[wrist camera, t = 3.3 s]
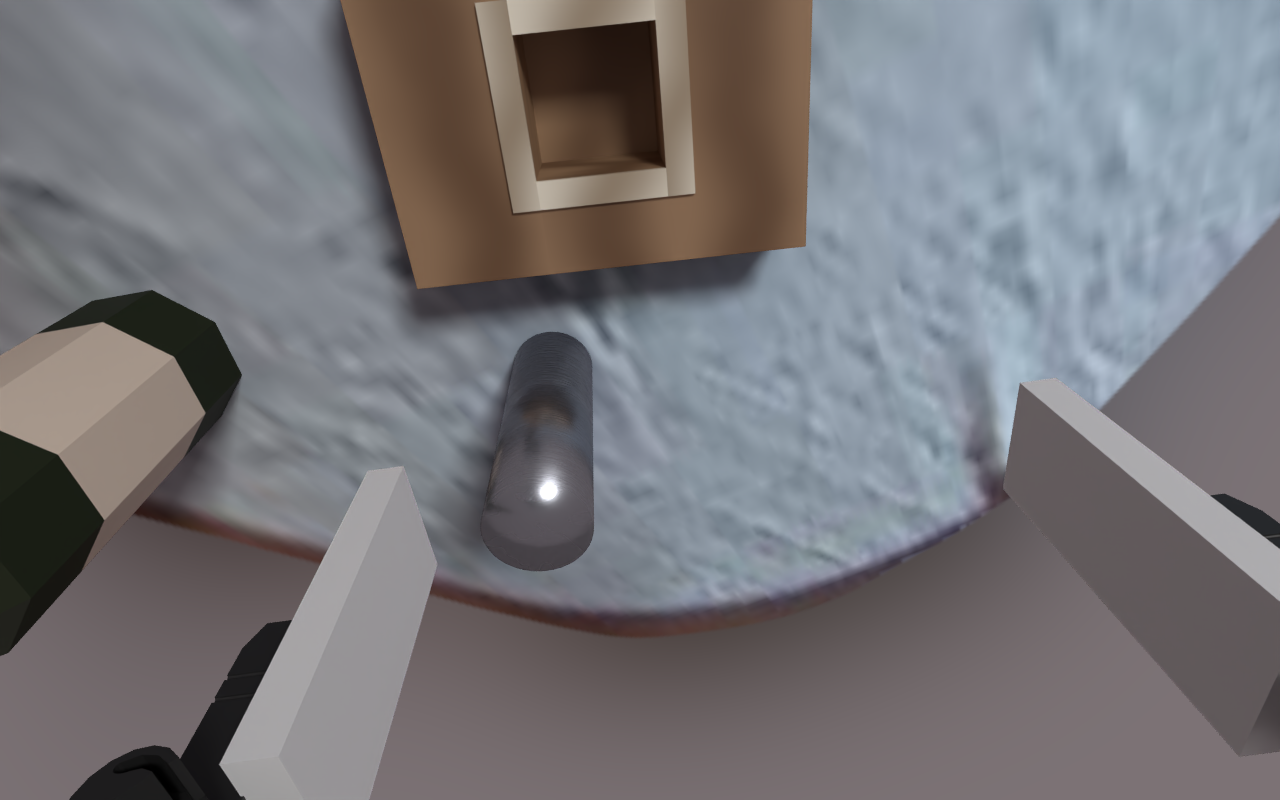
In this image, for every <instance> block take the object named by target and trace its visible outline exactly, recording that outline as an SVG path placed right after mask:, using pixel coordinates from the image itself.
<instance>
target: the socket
mask: <svg viewBox="0 0 1280 800" xmlns="http://www.w3.org/2000/svg"><path fill="white" fill-rule="evenodd" d="M340 1H341V4H342V8H343V12H344V16H345V19H346V23H347V27H348V31H349V34H350V38H351V42H352V46H353V49H354V53H355V57H356V61H357V64H358V68H359V72H360V76H361V79H362V83H363V87H364V91H365V94H366V98H367V102H368V106H369V109H370V113H371V117H372V121H373V124H374V128H375V132H376V136H377V139H378V143H379V147H380V151H381V154H382V158H383V162H384V166H385V169H386V173H387V177H388V181H389V184H390V188H391V192H392V196H393V199H394V203H395V207H396V211H397V214H398V218H399V222H400V226H401V229H402V233H403V237H404V241H405V244H406V248H407V252H408V256H409V259H410V263H411V267H412V271H413V274H414V278H415V282H416V286H417V289H422V288H431V287H441V286H450V285H459V284H468V283H477V282H486V281H495V280H504V279H513V278H522V277H531V276H541V275H550V274H559V273H568V272H577V271H586V270H595V269H604V268H613V267H622V266H631V265H641V264H650V263H659V262H668V261H677V260H686V259H695V258H704V257H713V256H722V255H731V254H740V253H750V252H759V251H768V250H777V249H786V248H795V247H804V246H806V213H807V177H808V141H809V105H810V69H811V32H812V0H340Z"/></svg>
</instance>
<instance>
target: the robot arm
mask: <svg viewBox="0 0 1280 800" xmlns="http://www.w3.org/2000/svg"><path fill="white" fill-rule="evenodd" d="M1003 489H1004V490H1005V492H1006V493H1007V494H1008V495H1009V496H1010V497H1011V498H1012V499H1013V501H1014V502H1015V503H1016V504H1017V505H1018V506H1019V508H1020V509H1021V510H1022V511H1023V512H1024V513H1025V514H1026V515H1027V516H1028V518H1029V519H1030V520H1031V521H1032V522H1033V523H1034V525H1035V526H1036V527H1037V528H1038V529H1039V530H1040V531H1041V532H1042V534H1043V535H1044V536H1045V537H1046V538H1047V539H1048V540H1049V542H1050V543H1051V544H1052V545H1053V546H1054V547H1055V548H1056V549H1057V551H1058V552H1059V553H1060V554H1061V555H1062V556H1063V557H1064V559H1066V561H1067V562H1068V563H1069V564H1070V565H1071V567H1072V568H1073V569H1074V570H1075V571H1076V572H1077V573H1078V574H1079V575H1080V577H1081V578H1082V579H1083V580H1084V581H1085V582H1086V584H1087V585H1088V586H1089V587H1090V588H1091V589H1092V590H1093V591H1094V593H1095V594H1096V595H1097V596H1098V597H1099V598H1100V599H1101V601H1102V602H1103V603H1104V604H1105V605H1106V606H1107V607H1108V609H1109V610H1110V611H1111V612H1112V613H1113V614H1114V615H1115V616H1116V617H1117V619H1118V620H1119V621H1120V622H1121V623H1122V624H1123V626H1124V627H1125V628H1126V629H1127V630H1128V631H1129V632H1130V633H1131V635H1132V636H1133V637H1134V638H1135V639H1136V640H1137V641H1138V643H1139V644H1140V645H1141V646H1142V647H1143V648H1144V649H1145V650H1146V652H1147V653H1148V654H1149V655H1150V656H1151V657H1152V658H1153V660H1154V661H1155V662H1156V663H1157V664H1158V665H1159V666H1160V667H1161V669H1162V670H1163V671H1164V672H1165V673H1166V674H1167V675H1168V677H1169V678H1170V679H1171V680H1172V681H1173V682H1174V683H1175V685H1176V686H1177V687H1178V688H1179V689H1180V690H1181V691H1182V692H1183V694H1184V695H1185V696H1186V697H1187V698H1188V699H1189V700H1190V702H1191V703H1192V704H1193V705H1194V706H1195V707H1196V708H1197V710H1198V711H1199V712H1200V713H1201V714H1202V715H1203V716H1204V717H1205V719H1206V720H1207V721H1208V722H1209V723H1210V724H1211V725H1212V726H1213V728H1214V729H1215V730H1216V731H1217V732H1218V733H1219V735H1220V736H1221V737H1222V738H1223V739H1224V740H1225V741H1226V742H1227V744H1228V745H1229V746H1230V747H1231V748H1232V749H1233V750H1234V751H1235V753H1236V754H1237V755H1238V756H1239V757H1241V756H1248V755H1256V754H1264V753H1272V752H1279V751H1280V524H1279V523H1278V522H1277V521H1275V520H1274V519H1273V518H1271V517H1270V516H1269V515H1267V514H1266V513H1264V512H1263V511H1261V510H1259V509H1257V508H1255V507H1253V506H1251V505H1248V504H1246V503H1244V502H1242V501H1240V500H1237V499H1235V498H1233V497H1231V496H1229V495H1226V494H1218V495H1211V496H1210V495H1208V494H1207V493H1206V492H1204V491H1203V490H1202V489H1201V488H1199V487H1198V486H1197V485H1195V484H1194V483H1193V482H1191V481H1190V480H1189V479H1187V478H1186V477H1185V476H1184V475H1182V474H1181V473H1180V472H1178V471H1177V470H1176V469H1174V468H1173V467H1172V466H1171V465H1169V464H1168V463H1166V462H1165V461H1164V460H1163V459H1161V458H1160V457H1159V456H1157V455H1156V454H1155V453H1153V452H1152V451H1151V450H1149V449H1148V448H1147V447H1146V446H1144V445H1143V444H1142V443H1140V442H1139V441H1138V440H1137V439H1135V438H1134V437H1132V436H1131V435H1130V434H1129V433H1127V432H1126V431H1125V430H1123V429H1122V428H1121V427H1119V426H1118V425H1117V424H1116V423H1114V422H1113V421H1112V420H1110V419H1109V418H1108V417H1107V416H1105V415H1104V414H1103V413H1101V412H1100V411H1099V410H1097V409H1096V408H1095V407H1093V406H1092V405H1091V404H1090V403H1088V402H1087V401H1086V400H1084V399H1083V398H1082V397H1080V396H1079V395H1078V394H1076V393H1075V392H1074V391H1073V390H1071V389H1070V388H1069V387H1067V386H1066V385H1065V384H1063V383H1062V382H1061V381H1059V380H1058V379H1057V378H1052V379H1045V380H1037V381H1030V382H1023V383H1020V386H1019V392H1018V398H1017V404H1016V411H1015V417H1014V423H1013V429H1012V435H1011V442H1010V448H1009V454H1008V460H1007V466H1006V473H1005V479H1004V485H1003ZM436 568H437V562H436V559H435V556H434V553H433V550H432V547H431V544H430V541H429V538H428V536H427V533H426V530H425V527H424V524H423V521H422V518H421V515H420V512H419V509H418V507H417V504H416V501H415V498H414V495H413V492H412V489H411V486H410V483H409V481H408V478H407V475H406V472H405V469H404V466H400V467H393V468H386V469H378V470H371V471H367V473H366V475H365V477H364V479H363V481H362V483H361V485H360V487H359V489H358V491H357V493H356V495H355V497H354V499H353V501H352V503H351V505H350V507H349V509H348V511H347V513H346V515H345V517H344V519H343V521H342V523H341V525H340V527H339V529H338V531H337V533H336V535H335V537H334V539H333V541H332V543H331V545H330V547H329V549H328V551H327V553H326V554H325V556H324V558H323V560H322V562H321V564H320V566H319V568H318V571H317V572H316V574H315V577H314V578H313V580H312V582H311V584H310V586H309V588H308V590H307V592H306V594H305V596H304V598H303V600H302V602H301V604H300V606H299V608H298V610H297V612H296V614H295V616H294V618H293V620H289V621H282V622H274V623H267V624H266V625H265V626H264V627H263V628H262V629H261V630H260V631H259V632H258V633H257V634H256V635H255V636H254V637H253V638H252V639H251V640H250V641H249V642H248V643H247V644H246V645H245V646H244V647H243V648H242V650H241V652H240V654H239V655H238V657H237V659H236V661H235V662H234V664H233V666H232V668H231V670H230V671H229V673H228V675H227V676H228V679H227V680H225V681H224V682H223V684H222V686H221V687H220V689H219V691H218V693H217V695H216V696H215V703H211V705H210V707H209V709H208V710H207V712H206V714H205V716H204V718H203V719H202V721H201V723H200V725H199V727H198V728H197V730H196V732H195V734H194V736H193V737H192V739H191V741H190V743H189V744H188V746H187V748H186V750H185V751H184V753H183V755H182V757H181V758H180V759H179V757H178V756H177V755H176V754H175V753H174V752H173V751H172V750H171V749H170V748H167V747H161V746H155V745H154V746H149V747H145V748H140V749H136V750H133V751H131V752H129V753H127V754H125V755H123V756H121V757H118V758H117V759H114V760H112V761H111V762H109V763H108V764H107V765H105V766H104V767H102V768H101V769H100V770H98V771H97V772H96V773H94V774H93V775H92V776H90V777H89V778H88V779H87V780H86V781H85V783H84V784H83V785H82V786H81V787H80V788H79V789H78V790H77V791H76V792H75V793H74V794H73V795H72V796H71V798H70V800H369V799H370V796H371V793H372V789H373V785H374V782H375V778H376V775H377V772H378V768H379V765H380V761H381V758H382V754H383V751H384V748H385V744H386V741H387V737H388V734H389V730H390V727H391V723H392V720H393V717H394V713H395V709H396V706H397V703H398V699H399V695H400V692H401V689H402V685H403V682H404V678H405V675H406V671H407V668H408V665H409V661H410V658H411V654H412V651H413V647H414V644H415V640H416V637H417V634H418V630H419V626H420V623H421V620H422V616H423V613H424V609H425V606H426V602H427V599H428V595H429V592H430V589H431V585H432V582H433V578H434V575H435V571H436Z"/></svg>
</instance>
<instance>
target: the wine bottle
mask: <svg viewBox="0 0 1280 800" xmlns="http://www.w3.org/2000/svg"><path fill="white" fill-rule="evenodd" d="M241 375H242V374H241V372H240V370H239V368H238V366H237V364H236V362H235V361H234V359H233V357H232V355H231V353H230V351H229V349H228V347H227V345H226V343H225V341H224V339H223V337H222V335H221V333H220V331H219V329H218V327H217V325H216V323H215V322H213V321H211V320H209V319H207V318H206V317H204V316H202V315H200V314H198V313H196V312H194V311H192V310H190V309H188V308H186V307H184V306H182V305H180V304H178V303H176V302H174V301H172V300H170V299H168V298H166V297H164V296H163V295H161V294H159V293H157V292H155V291H153V290H150V291H145V292H139V293H134V294H128V295H123V296H117V297H112V298H106V299H101V300H95V301H91V302H90V303H88V304H86V305H85V306H83V307H81V308H80V309H78V310H76V311H75V312H73V313H71V314H69V315H68V316H66V317H64V318H63V319H61V320H59V321H58V322H56V323H54V324H53V325H51V326H49V327H48V328H46V329H44V330H42V331H41V332H39V333H37V334H36V335H34V336H32V337H31V338H29V339H27V340H26V341H24V342H22V343H21V344H19V345H17V346H16V347H14V348H12V349H10V350H9V351H7V352H5V353H4V354H2V355H0V656H1V655H4V654H7V653H8V652H9V651H10V650H11V649H12V648H13V647H14V646H15V645H16V644H17V643H18V641H19V640H20V639H21V638H22V637H23V636H24V635H25V634H26V633H27V631H28V630H29V629H30V628H31V627H32V626H33V625H34V624H35V623H36V621H37V620H38V619H39V618H40V617H41V616H42V615H43V614H44V613H45V611H46V610H47V609H48V608H49V607H50V606H51V605H52V604H53V603H54V601H55V600H56V599H57V598H58V597H59V596H60V595H61V594H62V593H63V591H64V590H65V589H66V588H67V587H68V586H69V585H70V583H71V582H72V581H73V580H74V579H75V578H76V577H77V576H78V575H79V574H80V572H81V571H82V570H83V569H84V568H85V567H86V566H87V565H88V564H89V562H90V561H91V560H92V559H93V558H94V557H95V556H96V555H97V554H98V552H99V551H100V550H101V549H102V548H103V547H104V546H105V545H106V544H107V542H108V541H109V540H110V539H111V538H112V537H113V536H114V535H115V533H116V532H117V531H118V530H119V529H120V528H121V527H122V526H123V525H124V524H125V522H126V521H127V520H128V519H129V518H130V517H131V516H132V515H133V514H134V512H135V511H136V510H137V509H138V508H139V507H140V506H141V505H142V504H143V502H144V501H145V500H146V499H147V498H148V497H149V496H150V495H151V493H152V492H153V491H154V490H155V489H156V488H157V487H158V486H159V485H160V483H161V482H162V481H163V480H164V479H165V478H166V477H167V476H168V475H169V473H170V472H171V471H172V470H173V469H174V468H175V467H176V466H177V465H178V463H179V462H180V461H181V460H182V459H183V458H184V457H185V456H186V455H187V453H188V452H189V451H190V450H191V449H192V448H193V447H194V446H195V445H196V443H197V442H198V441H199V440H200V439H201V438H202V437H203V436H204V434H205V433H206V432H207V431H208V430H209V429H210V428H211V427H212V426H213V424H214V423H215V422H216V421H217V420H218V419H219V418H220V417H221V415H222V413H223V411H224V409H225V407H226V405H227V403H228V401H229V399H230V397H231V395H232V393H233V391H234V389H235V387H236V385H237V383H238V381H239V379H240V377H241Z"/></svg>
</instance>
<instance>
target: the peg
mask: <svg viewBox="0 0 1280 800" xmlns="http://www.w3.org/2000/svg"><path fill="white" fill-rule="evenodd" d="M593 532H594V496H593V390H592V361H591V357H590V355H589V353H588V351H587V349H586V348H585V347H584V346H583V344H582V343H581V342H579V341H578V340H577V339H575V338H573V337H572V336H569V335H567V334H564V333H559V332H545V333H541V334H537V335H535V336H533V337H531V338H529V339H528V340H527V341H526V342H524V343H523V344H522V346H521V347H520V348H519V350H518V352H517V354H516V357H515V361H514V366H513V370H512V375H511V380H510V385H509V389H508V394H507V399H506V404H505V408H504V413H503V418H502V423H501V428H500V432H499V437H498V442H497V447H496V451H495V456H494V461H493V466H492V470H491V475H490V480H489V485H488V490H487V494H486V499H485V504H484V509H483V513H482V518H481V535H482V538H483V541H484V543H485V544H486V546H487V548H488V549H489V550H490V552H491V553H492V554H493V555H494V556H496V557H497V558H498V559H499V560H501V561H503V562H504V563H506V564H508V565H510V566H513V567H516V568H519V569H523V570H529V571H548V570H554V569H557V568H561V567H563V566H566V565H568V564H570V563H572V562H573V561H575V560H576V559H578V558H579V557H580V556H581V555H582V554H583V553H584V552H585V551H586V550H587V548H588V546H589V545H590V543H591V540H592V537H593Z"/></svg>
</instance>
